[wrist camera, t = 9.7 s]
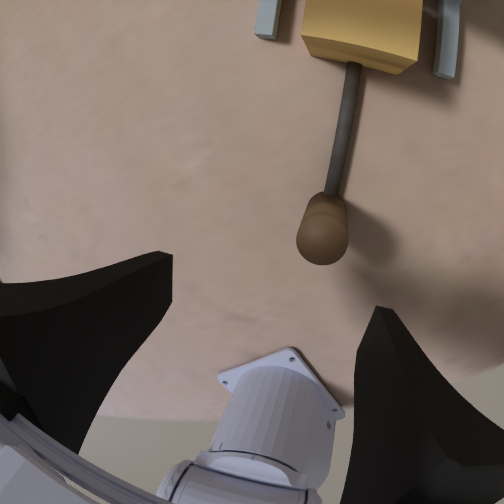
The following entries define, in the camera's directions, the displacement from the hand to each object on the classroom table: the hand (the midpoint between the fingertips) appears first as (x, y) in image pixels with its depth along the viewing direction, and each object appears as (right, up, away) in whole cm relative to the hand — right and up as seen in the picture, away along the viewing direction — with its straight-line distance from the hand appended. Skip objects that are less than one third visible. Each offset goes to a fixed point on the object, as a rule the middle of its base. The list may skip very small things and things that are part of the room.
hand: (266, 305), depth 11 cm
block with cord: (+5, +10, +5) cm, 12 cm away
